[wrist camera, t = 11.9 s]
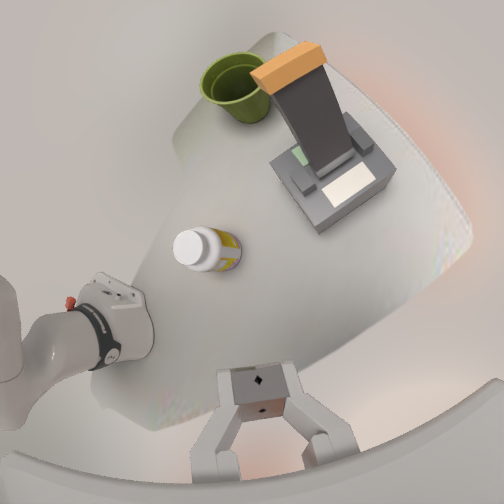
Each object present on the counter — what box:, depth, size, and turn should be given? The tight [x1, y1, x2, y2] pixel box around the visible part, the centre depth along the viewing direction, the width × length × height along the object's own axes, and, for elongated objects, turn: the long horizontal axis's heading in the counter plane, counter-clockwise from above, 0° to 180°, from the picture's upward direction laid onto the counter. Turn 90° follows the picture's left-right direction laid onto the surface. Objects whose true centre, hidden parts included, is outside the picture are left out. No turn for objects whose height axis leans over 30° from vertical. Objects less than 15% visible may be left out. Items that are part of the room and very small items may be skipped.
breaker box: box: [269, 112, 397, 234], centre depth 37 cm, size 11×14×12 cm
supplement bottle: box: [173, 226, 241, 272], centre depth 41 cm, size 7×7×13 cm
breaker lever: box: [250, 41, 356, 179], centre depth 27 cm, size 3×7×17 cm, turn 123°
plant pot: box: [199, 52, 270, 123], centre depth 42 cm, size 12×12×11 cm
